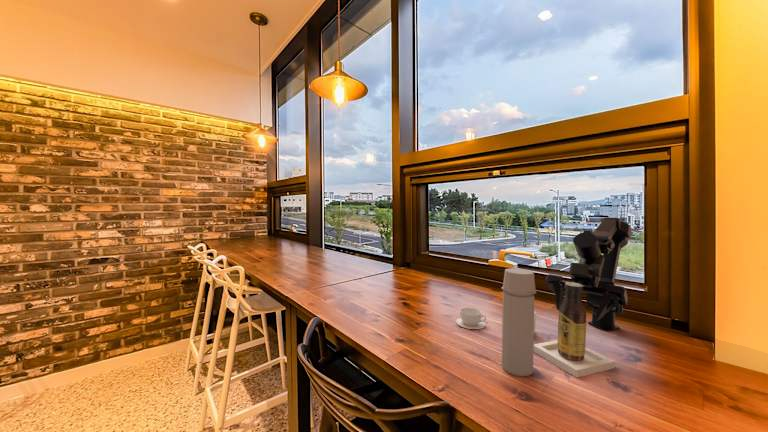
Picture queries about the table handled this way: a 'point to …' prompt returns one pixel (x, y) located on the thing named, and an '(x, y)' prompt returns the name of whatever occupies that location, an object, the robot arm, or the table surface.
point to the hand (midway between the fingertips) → (576, 314)
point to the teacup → (471, 318)
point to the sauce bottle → (572, 323)
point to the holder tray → (587, 366)
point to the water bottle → (518, 321)
